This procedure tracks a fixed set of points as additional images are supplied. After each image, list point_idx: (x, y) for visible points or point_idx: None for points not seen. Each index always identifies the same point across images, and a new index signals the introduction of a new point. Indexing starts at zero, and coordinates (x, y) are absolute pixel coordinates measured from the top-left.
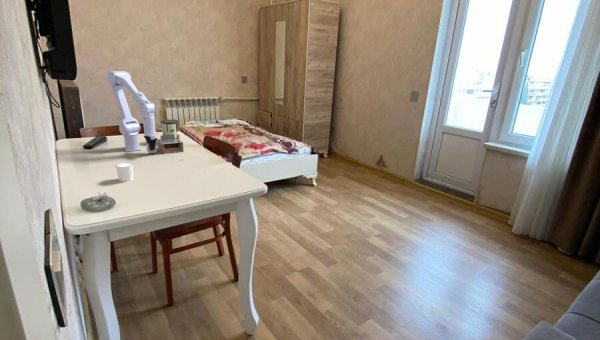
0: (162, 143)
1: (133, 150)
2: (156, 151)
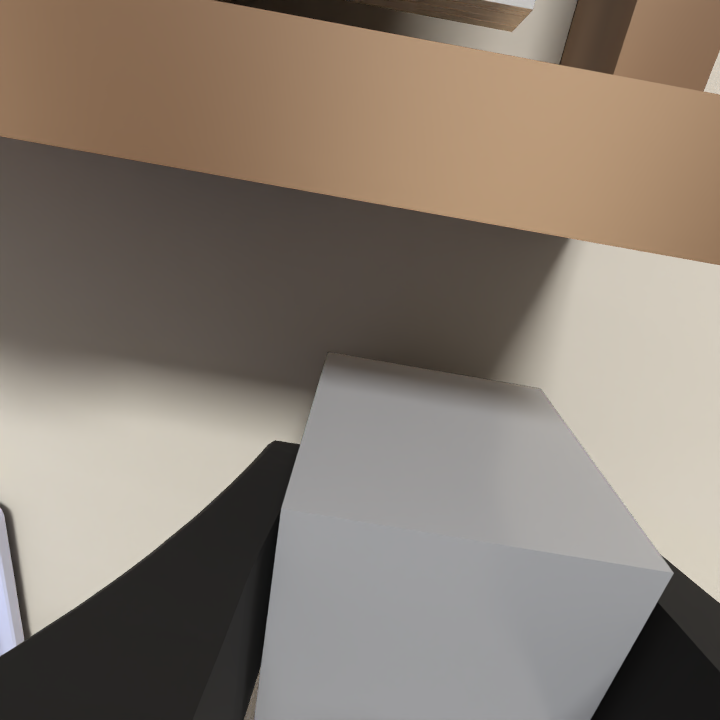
0: (591, 129)
1: (14, 614)
2: (549, 402)
